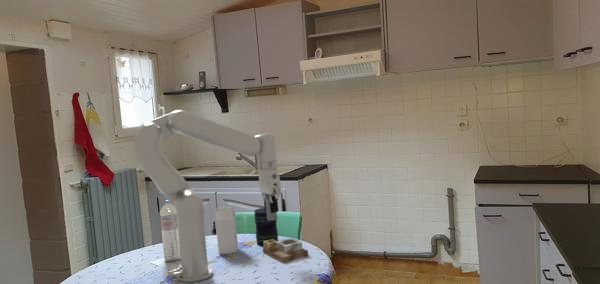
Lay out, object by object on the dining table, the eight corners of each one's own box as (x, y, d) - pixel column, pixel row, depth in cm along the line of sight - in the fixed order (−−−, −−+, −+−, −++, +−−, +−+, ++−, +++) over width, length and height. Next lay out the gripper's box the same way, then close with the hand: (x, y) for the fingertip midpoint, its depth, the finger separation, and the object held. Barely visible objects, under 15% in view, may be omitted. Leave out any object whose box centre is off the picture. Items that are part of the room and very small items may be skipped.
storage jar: (253, 242, 200) (250, 209, 199) (273, 238, 204) (271, 206, 203) (261, 247, 191) (258, 214, 190) (281, 243, 195) (279, 210, 194)
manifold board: (282, 262, 170) (281, 250, 170) (263, 252, 184) (262, 241, 184) (308, 255, 177) (307, 243, 176) (287, 246, 190) (286, 235, 190)
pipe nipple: (270, 221, 170) (267, 196, 170) (264, 219, 174) (262, 194, 174) (280, 218, 173) (278, 193, 172) (274, 216, 177) (272, 192, 176)
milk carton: (235, 253, 186) (231, 209, 184) (218, 254, 186) (214, 210, 185) (238, 247, 193) (234, 205, 192) (222, 248, 193) (218, 206, 192)
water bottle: (160, 261, 182) (155, 202, 180) (172, 255, 188) (167, 198, 186) (173, 263, 179) (167, 202, 177) (184, 257, 185) (179, 198, 183)
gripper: (286, 165, 167) (290, 212, 168) (266, 162, 181) (270, 206, 182) (268, 168, 163) (273, 216, 164) (249, 165, 177) (253, 209, 178)
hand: (271, 210), depth 173 cm, fingers closed on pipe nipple, 4 cm apart
